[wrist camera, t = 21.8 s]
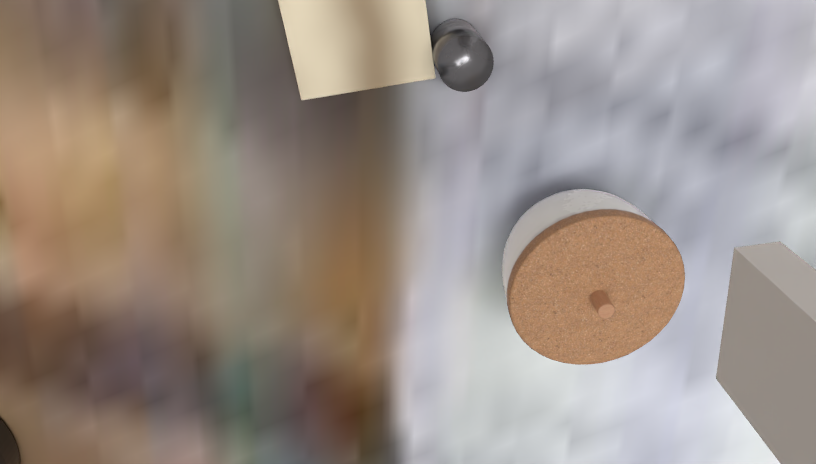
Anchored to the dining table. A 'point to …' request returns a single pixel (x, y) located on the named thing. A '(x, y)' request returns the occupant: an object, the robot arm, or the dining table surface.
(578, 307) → the lidded jar
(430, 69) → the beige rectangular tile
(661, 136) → the dining table surface
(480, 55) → the bench dogs
